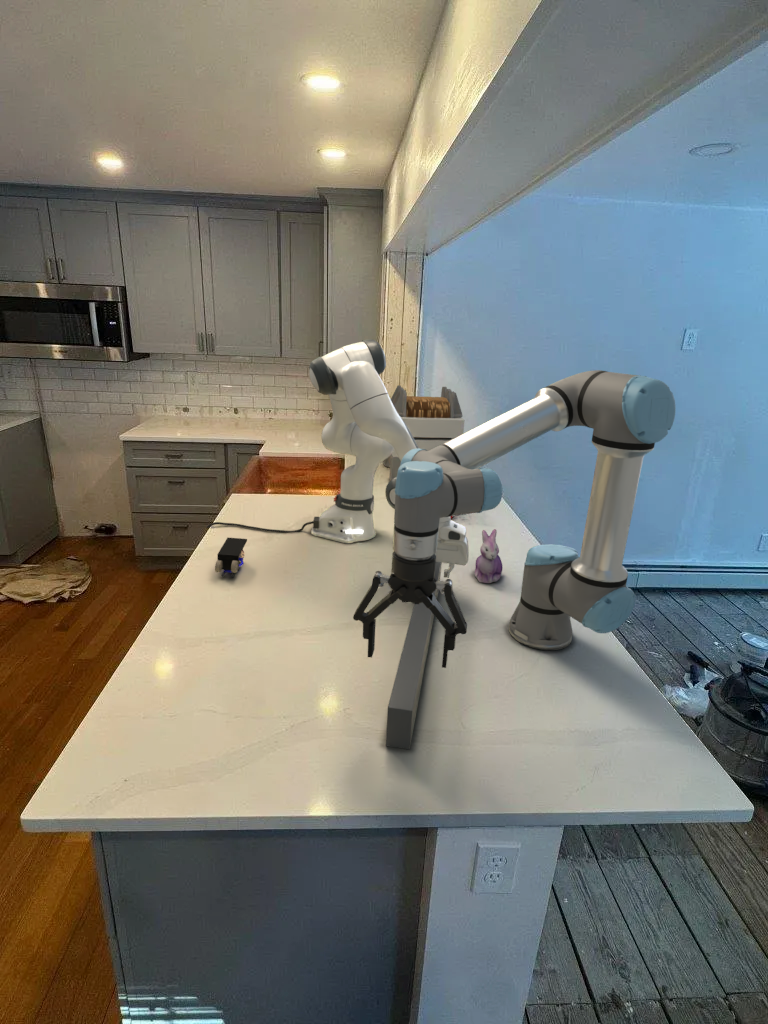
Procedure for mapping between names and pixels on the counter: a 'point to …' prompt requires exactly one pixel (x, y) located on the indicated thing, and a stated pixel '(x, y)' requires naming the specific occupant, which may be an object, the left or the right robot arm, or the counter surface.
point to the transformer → (427, 421)
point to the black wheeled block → (230, 556)
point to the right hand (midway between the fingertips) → (407, 658)
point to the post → (410, 675)
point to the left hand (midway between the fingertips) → (429, 574)
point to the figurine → (488, 559)
